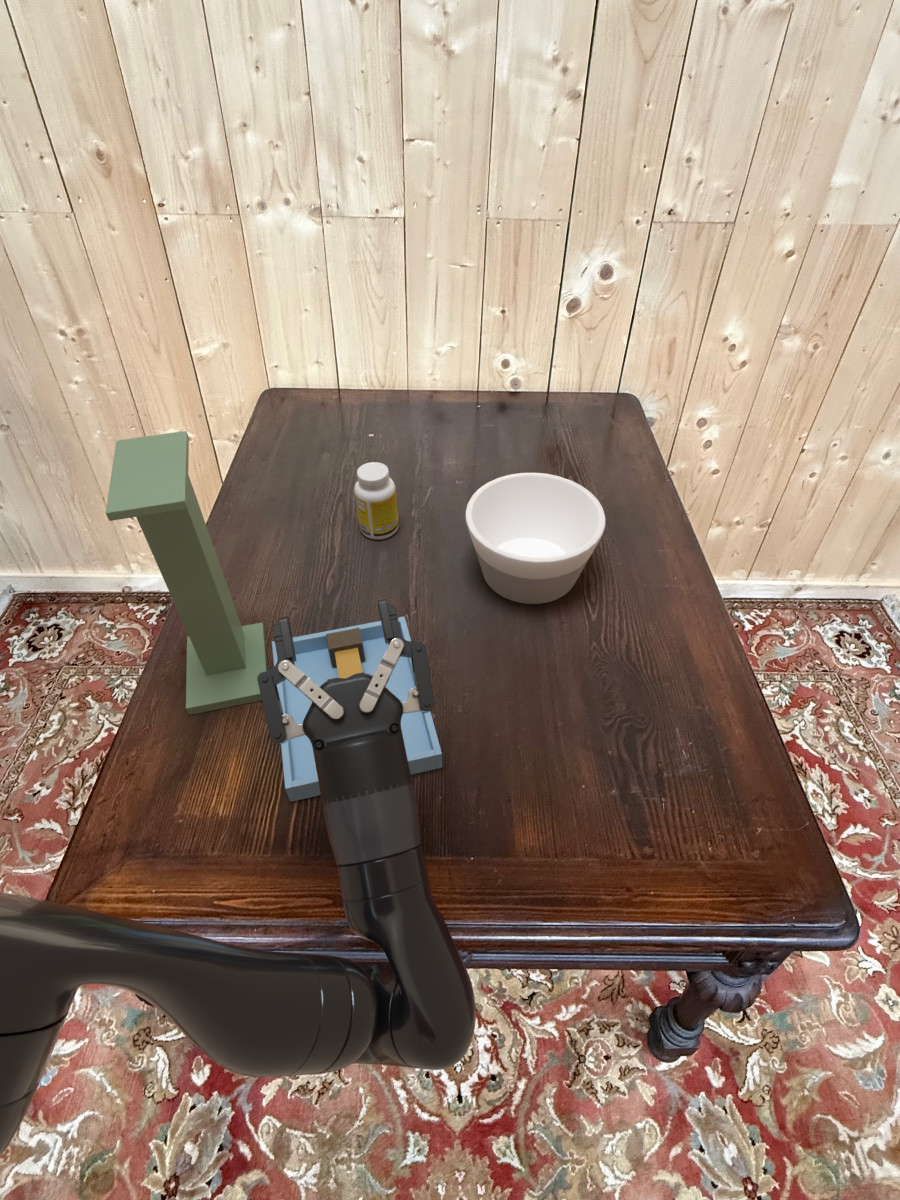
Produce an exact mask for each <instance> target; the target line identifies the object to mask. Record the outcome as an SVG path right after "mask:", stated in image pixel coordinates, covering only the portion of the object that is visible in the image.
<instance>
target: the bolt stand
mask: <svg viewBox="0 0 900 1200" xmlns="http://www.w3.org/2000/svg"><path fill="white" fill-rule="evenodd" d="M189 453H190V437H189V435H188V430H182V431H175V432H167V433H161V434H154V435H153V434H152V435H147V436H138V437H132V438H131V437H130V438H125V439H118V440H117V439H116V441H115V447H114V455H113V460H112V467H111V474H110V479H109V480H110V481H109V487H108V493H107V501H106V506H105V515H106V517H107V520H108V521H109V522H111V521H118V520H119V521H120V520H125V519H131V518H136V520H137V522H138V524H139V527H140V529H141V532H142V534H143V536H144V538H145V541H146V543H147V545H148V547H149V550H150V552H151V555H152V556H153V558H154V560H155V563H156V565H157V568H158V570H159V572H160V574H161V577H162V579H163V582H164V583H165V586H166V589H167V590H168V592H169V594H170V597H171V600H172V601H173V603H174V605H175V608H176V611H177V613H178V615H179V617H180V620H181V622H182V624H183V626H184V628H185V631H186V633H187V636H186V669H185V670H186V671H185V672H186V673H185V675H186V676H185V710H186V712H187V714H188V715H189V716H192V715H198V714H202V713H206V712H212V711H216V710H217V711H218V710H221V709H227V708H232V707H237V706H242V705H247V704H251V703H257V702H262V699H261V694H260V690H259V685H258V681H257V678H258V675H259V674H260V673H262V672H266V671H268V670H269V664H268V663H269V662H268V652H267V643H266V642H267V641H266V640H267V639H266V629H265V625H264V622H257V623H252V624H246V625H242V623H241V621H240V617H239V615H238V613H237V608H236V606H235V604H234V600H233V598H232V595H231V592H230V589H229V586H228V583H227V581H226V578H225V575H224V571H223V569H222V566H221V563H220V561H219V558H218V555H217V553H216V552H217V551H216V549H215V547H214V543H213V541H212V538H211V535H210V532H209V530H208V527H207V524H206V520H205V518H204V515H203V512H202V509H201V506H200V504H199V500H198V498H197V495H196V492H195V488H194V486H193V484H192V481H191V478H190V475H189V460H190V459H189V457H190V456H189Z"/></svg>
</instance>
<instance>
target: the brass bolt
mask: <svg viewBox="0 0 900 1200" xmlns="http://www.w3.org/2000/svg"><path fill="white" fill-rule="evenodd" d="M326 639H327V645H328V651H329V656H330V660H331V665H332V667H334V666H337V670H338V676H339V678H348V677H350V676H352V675H354V674H357V673H362V672H363V670H362V665H361V661H364V660H365V654H364V648H363V642H362V638H361V633H360V629H359V628H355V629H350V630H345V631H339V632H334V633H329V634H326Z"/></svg>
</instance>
